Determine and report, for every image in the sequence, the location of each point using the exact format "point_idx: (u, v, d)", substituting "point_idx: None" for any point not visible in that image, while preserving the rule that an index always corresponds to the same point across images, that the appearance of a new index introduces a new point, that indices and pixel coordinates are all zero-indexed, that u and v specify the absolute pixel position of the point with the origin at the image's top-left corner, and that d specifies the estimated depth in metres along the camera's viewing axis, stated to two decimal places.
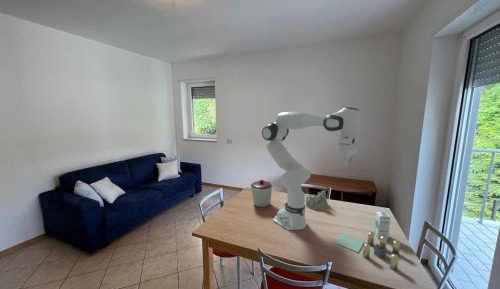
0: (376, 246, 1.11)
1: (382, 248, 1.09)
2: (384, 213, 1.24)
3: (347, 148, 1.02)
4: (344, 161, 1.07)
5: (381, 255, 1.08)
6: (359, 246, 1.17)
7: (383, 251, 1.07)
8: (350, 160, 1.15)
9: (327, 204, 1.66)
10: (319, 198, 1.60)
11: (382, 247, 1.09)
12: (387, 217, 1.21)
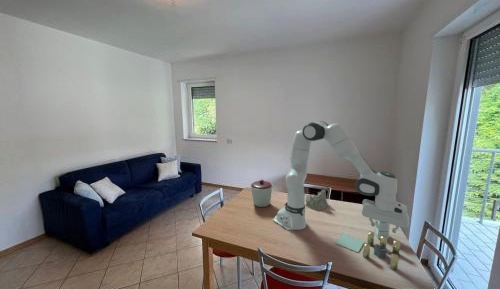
0: (376, 246, 1.11)
1: (382, 248, 1.09)
2: None
3: None
4: None
5: (381, 255, 1.08)
6: (359, 246, 1.17)
7: (383, 251, 1.07)
8: (374, 224, 1.10)
9: (327, 204, 1.67)
10: (319, 198, 1.60)
11: (382, 247, 1.09)
12: None
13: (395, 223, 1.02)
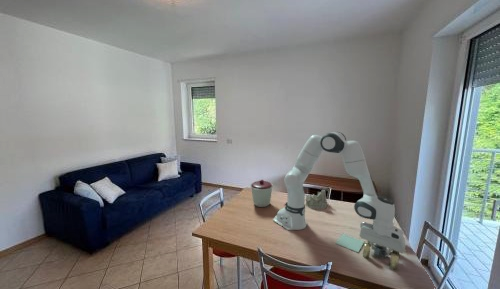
0: (376, 246, 1.11)
1: (382, 248, 1.09)
2: None
3: (404, 240, 1.03)
4: None
5: (381, 255, 1.08)
6: (359, 246, 1.17)
7: (383, 251, 1.07)
8: None
9: None
10: (319, 197, 1.61)
11: (382, 247, 1.09)
12: None
13: (392, 248, 1.05)
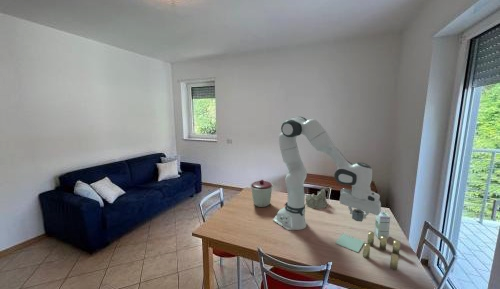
0: (354, 210, 1.16)
1: (360, 212, 1.14)
2: (384, 213, 1.24)
3: (380, 203, 1.09)
4: (367, 214, 1.12)
5: (358, 218, 1.13)
6: (359, 246, 1.17)
7: (360, 214, 1.13)
8: None
9: (326, 203, 1.68)
10: (319, 197, 1.62)
11: (360, 211, 1.15)
12: (387, 217, 1.21)
13: (368, 210, 1.10)
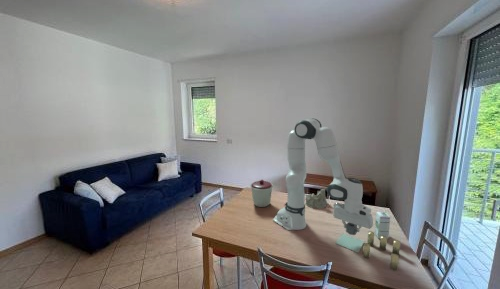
0: (348, 224, 1.19)
1: (353, 225, 1.17)
2: (384, 213, 1.24)
3: (372, 217, 1.12)
4: None
5: (352, 232, 1.17)
6: (359, 246, 1.17)
7: (353, 228, 1.16)
8: None
9: (326, 202, 1.69)
10: (319, 196, 1.63)
11: (353, 225, 1.18)
12: (387, 217, 1.21)
13: (361, 224, 1.13)
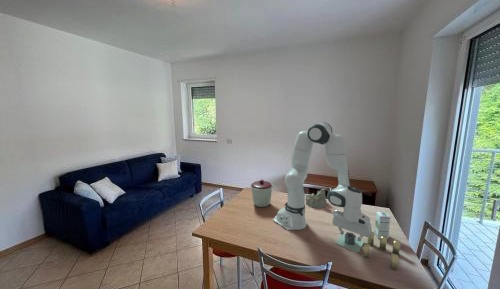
0: (346, 234, 1.21)
1: (352, 236, 1.19)
2: (384, 213, 1.24)
3: None
4: (361, 237, 1.15)
5: (350, 242, 1.18)
6: (359, 246, 1.17)
7: (352, 238, 1.17)
8: (343, 233, 1.23)
9: (326, 202, 1.70)
10: (319, 196, 1.63)
11: (352, 235, 1.19)
12: (387, 217, 1.21)
13: (359, 233, 1.14)
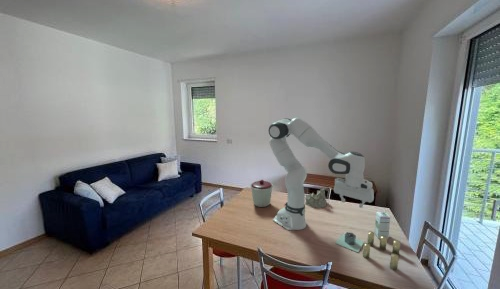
0: (346, 234, 1.21)
1: (352, 236, 1.19)
2: (384, 213, 1.24)
3: (373, 191, 1.11)
4: (363, 203, 1.13)
5: (350, 242, 1.18)
6: (359, 246, 1.17)
7: (352, 238, 1.17)
8: (344, 200, 1.20)
9: (326, 202, 1.70)
10: (319, 196, 1.64)
11: (352, 235, 1.19)
12: (387, 217, 1.21)
13: (361, 198, 1.12)
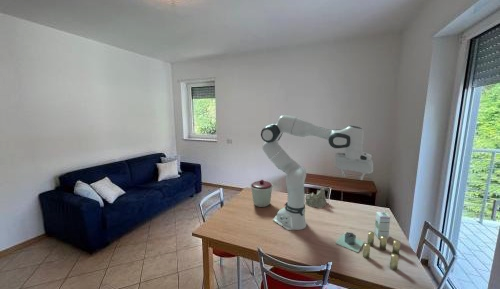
0: (346, 234, 1.21)
1: (352, 236, 1.19)
2: (384, 213, 1.24)
3: (372, 162, 1.14)
4: (363, 175, 1.16)
5: (350, 242, 1.18)
6: (359, 246, 1.17)
7: (352, 238, 1.17)
8: (344, 174, 1.23)
9: None
10: (319, 196, 1.64)
11: (352, 235, 1.19)
12: (387, 217, 1.21)
13: (361, 170, 1.15)
